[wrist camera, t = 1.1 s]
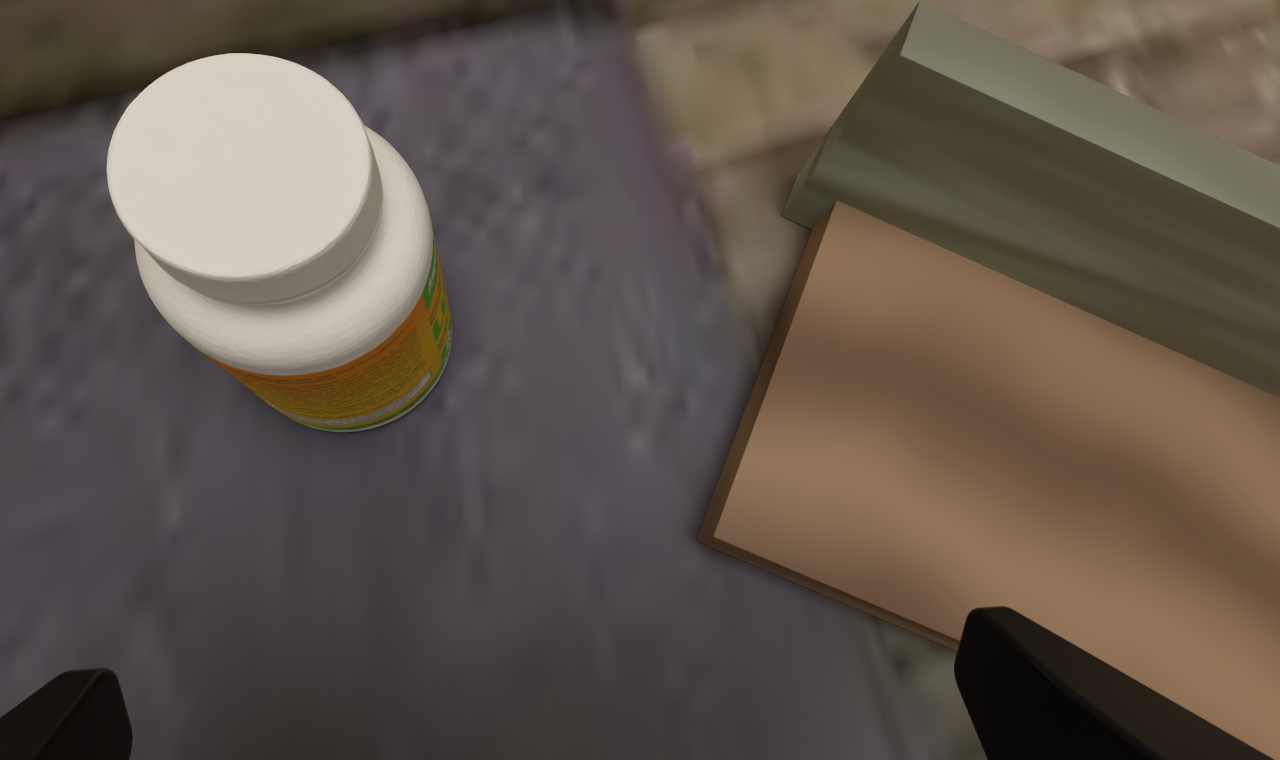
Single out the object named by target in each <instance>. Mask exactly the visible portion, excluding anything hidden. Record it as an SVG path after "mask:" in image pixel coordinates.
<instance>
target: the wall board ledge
mask: <svg viewBox="0 0 1280 760" xmlns="http://www.w3.org/2000/svg"><path fill="white" fill-rule="evenodd" d="M782 217H785V218H787V219H789V220H791V221H794V222H796V223H798V224H800V225H803V226H805V227H807V228H809V229H812V231H811V233H810V236H809V239H808V241H807V244H806V247H805V249H804V252H803V255H802V258H801V260H800V263H799V266H798V268H797V271H796V274H795V276H794V279H793V282H792V284H791V287H790V290H789V292H788V295H787V298H786V301H785V303H784V306H783V309H782V311H781V314H780V317H779V319H778V322H777V325H776V327H775V330H774V333H773V336H772V338H771V341H770V344H769V346H768V349H767V352H766V354H765V357H764V360H763V362H762V365H761V368H760V371H759V373H758V376H757V379H756V381H755V384H754V387H753V389H752V392H751V395H750V397H749V400H748V403H747V406H746V408H745V411H744V414H743V416H742V419H741V422H740V424H739V427H738V430H737V432H736V435H735V438H734V440H733V443H732V446H731V449H730V451H729V454H728V457H727V459H726V462H725V465H724V467H723V470H722V473H721V475H720V478H719V481H718V484H717V486H716V489H715V492H714V494H713V497H712V500H711V502H710V505H709V508H708V510H707V513H706V516H705V519H704V521H703V524H702V527H701V529H700V532H699V535H698V537H697V540H696V541H697V542H700V543H702V544H705V545H707V546H709V547H712V548H714V549H716V550H719V551H721V552H724V553H726V554H728V555H731V556H733V557H735V558H738V559H740V560H742V561H745V562H747V563H750V564H752V565H754V566H757V567H759V568H761V569H764V570H766V571H769V572H771V573H773V574H776V575H778V576H780V577H783V578H785V579H788V580H790V581H792V582H795V583H797V584H799V585H802V586H804V587H806V588H809V589H811V590H814V591H816V592H818V593H821V594H823V595H825V596H828V597H830V598H833V599H835V600H837V601H840V602H842V603H844V604H847V605H849V606H852V607H854V608H856V609H859V610H861V611H863V612H866V613H868V614H870V615H873V616H875V617H878V618H880V619H882V620H885V621H887V622H889V623H892V624H894V625H897V626H899V627H901V628H904V629H906V630H908V631H911V632H913V633H916V634H918V635H920V636H923V637H925V638H927V639H930V640H932V641H934V642H937V643H939V644H942V645H944V646H946V647H949V648H951V649H953V650H956V651H958V647H959V643H960V639H961V636H962V632H963V628H964V624H965V621H966V617H967V615H968V614H969V612H970V611H971V610H972V609H975V608H979V607H993V606H1006V607H1009V608H1011V609H1013V610H1015V611H1017V612H1019V613H1020V614H1022V615H1024V616H1025V617H1027V618H1029V619H1031V620H1032V621H1034V622H1036V623H1038V624H1039V625H1041V626H1043V627H1045V628H1046V629H1048V630H1050V631H1052V632H1053V633H1055V634H1057V635H1059V636H1060V637H1062V638H1064V639H1066V640H1067V641H1069V642H1071V643H1072V644H1074V645H1076V646H1078V647H1079V648H1081V649H1083V650H1085V651H1086V652H1088V653H1090V654H1092V655H1093V656H1095V657H1097V658H1099V659H1100V660H1102V661H1104V662H1106V663H1107V664H1109V665H1111V666H1113V667H1114V668H1116V669H1118V670H1119V671H1121V672H1123V673H1125V674H1126V675H1128V676H1130V677H1132V678H1133V679H1135V680H1137V681H1139V682H1140V683H1142V684H1144V685H1146V686H1147V687H1149V688H1151V689H1153V690H1154V691H1156V692H1158V693H1160V694H1161V695H1163V696H1165V697H1166V698H1168V699H1170V700H1172V701H1173V702H1175V703H1177V704H1179V705H1180V706H1182V707H1184V708H1186V709H1187V710H1189V711H1191V712H1193V713H1194V714H1196V715H1198V716H1200V717H1201V718H1203V719H1205V720H1207V721H1208V722H1210V723H1212V724H1213V725H1215V726H1217V727H1219V728H1220V729H1222V730H1224V731H1226V732H1227V733H1229V734H1231V735H1233V736H1234V737H1236V738H1238V739H1240V740H1241V741H1243V742H1245V743H1247V744H1248V745H1250V746H1252V747H1254V748H1255V749H1257V750H1259V751H1260V752H1262V753H1264V754H1266V755H1267V756H1269V757H1271V758H1273V759H1274V760H1280V166H1278V165H1276V164H1274V163H1272V162H1270V161H1268V160H1265V159H1263V158H1261V157H1259V156H1257V155H1255V154H1252V153H1250V152H1248V151H1246V150H1244V149H1241V148H1239V147H1237V146H1235V145H1233V144H1231V143H1228V142H1226V141H1224V140H1222V139H1220V138H1218V137H1215V136H1213V135H1211V134H1209V133H1207V132H1205V131H1202V130H1200V129H1198V128H1196V127H1194V126H1191V125H1189V124H1187V123H1185V122H1183V121H1181V120H1178V119H1176V118H1174V117H1172V116H1170V115H1168V114H1165V113H1163V112H1161V111H1159V110H1157V109H1155V108H1152V107H1150V106H1148V105H1146V104H1144V103H1141V102H1139V101H1137V100H1135V99H1133V98H1131V97H1128V96H1126V95H1124V94H1122V93H1120V92H1118V91H1115V90H1113V89H1111V88H1109V87H1107V86H1105V85H1102V84H1100V83H1098V82H1096V81H1094V80H1092V79H1089V78H1087V77H1085V76H1083V75H1081V74H1078V73H1076V72H1074V71H1072V70H1070V69H1068V68H1065V67H1063V66H1061V65H1059V64H1057V63H1055V62H1052V61H1050V60H1048V59H1046V58H1044V57H1042V56H1039V55H1037V54H1035V53H1033V52H1031V51H1028V50H1026V49H1024V48H1022V47H1020V46H1018V45H1015V44H1013V43H1011V42H1009V41H1007V40H1005V39H1002V38H1000V37H998V36H996V35H994V34H992V33H989V32H987V31H985V30H983V29H981V28H978V27H976V26H974V25H972V24H970V23H968V22H965V21H963V20H961V19H959V18H957V17H955V16H952V15H950V14H948V13H946V12H944V11H942V10H939V9H937V8H935V7H933V6H931V5H928V4H926V3H924V2H922V1H919V3H918V4H917V6H916V7H915V8H914V10H913V11H912V13H911V14H910V16H909V17H908V18H907V20H906V21H905V23H904V24H903V26H902V27H901V28H900V30H899V31H898V33H897V34H896V35H895V37H894V38H893V40H892V41H891V43H890V44H889V45H888V47H887V48H886V50H885V51H884V53H883V54H882V55H881V57H880V58H879V60H878V61H877V63H876V64H875V65H874V67H873V68H872V70H871V71H870V73H869V74H868V75H867V77H866V78H865V80H864V81H863V83H862V84H861V85H860V87H859V88H858V90H857V91H856V93H855V94H854V95H853V97H852V98H851V100H850V101H849V103H848V104H847V105H846V107H845V108H844V110H843V111H842V113H841V114H840V115H839V117H838V118H837V120H836V121H835V123H834V124H833V125H832V127H831V128H830V130H829V131H828V133H827V134H826V135H825V137H824V138H823V140H822V141H821V143H820V144H819V145H818V147H817V148H816V150H815V151H814V153H813V154H812V155H811V157H810V158H809V160H808V161H807V163H806V164H805V165H804V167H803V168H802V170H801V171H800V173H799V174H798V175H797V178H796V181H795V183H794V186H793V188H792V191H791V194H790V196H789V199H788V201H787V204H786V207H785V209H784V212H783V214H782Z"/></svg>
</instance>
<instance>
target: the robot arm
mask: <svg viewBox="0 0 1280 760" xmlns="http://www.w3.org/2000/svg"><path fill="white" fill-rule="evenodd" d="M954 673H955V679H956V683H957V686H958V689H959V691H960V693H961V696H962V698H963V701H964V703H965V706H966V708H967V711H968V713H969V716H970V718H971V720H972V723H973V725H974V728H975V730H976V733H977V735H978V738H979V740H980V742H981V745H982V747H983V750H984V752H985V755H986V757H987V760H1274V759H1273V758H1271V757H1269V756H1267V755H1266V754H1264V753H1262V752H1260V751H1259V750H1257V749H1255V748H1254V747H1252V746H1250V745H1248V744H1247V743H1245V742H1243V741H1241V740H1240V739H1238V738H1236V737H1234V736H1233V735H1231V734H1229V733H1227V732H1226V731H1224V730H1222V729H1220V728H1219V727H1217V726H1215V725H1213V724H1212V723H1210V722H1208V721H1207V720H1205V719H1203V718H1201V717H1200V716H1198V715H1196V714H1194V713H1193V712H1191V711H1189V710H1187V709H1186V708H1184V707H1182V706H1180V705H1179V704H1177V703H1175V702H1173V701H1172V700H1170V699H1168V698H1166V697H1165V696H1163V695H1161V694H1160V693H1158V692H1156V691H1154V690H1153V689H1151V688H1149V687H1147V686H1146V685H1144V684H1142V683H1140V682H1139V681H1137V680H1135V679H1133V678H1132V677H1130V676H1128V675H1126V674H1125V673H1123V672H1121V671H1119V670H1118V669H1116V668H1114V667H1113V666H1111V665H1109V664H1107V663H1106V662H1104V661H1102V660H1100V659H1099V658H1097V657H1095V656H1093V655H1092V654H1090V653H1088V652H1086V651H1085V650H1083V649H1081V648H1079V647H1078V646H1076V645H1074V644H1072V643H1071V642H1069V641H1067V640H1066V639H1064V638H1062V637H1060V636H1059V635H1057V634H1055V633H1053V632H1052V631H1050V630H1048V629H1046V628H1045V627H1043V626H1041V625H1039V624H1038V623H1036V622H1034V621H1032V620H1031V619H1029V618H1027V617H1025V616H1024V615H1022V614H1020V613H1019V612H1017V611H1015V610H1013V609H1011V608H1009V607H1006V606H993V607H979V608H975V609H972V610H971V611H970V612H969V614H968V615H967V617H966V621H965V624H964V628H963V632H962V636H961V639H960V643H959V647H958V651H957V655H956V658H955V664H954ZM131 748H132V728H131V724H130V720H129V717H128V713H127V709H126V706H125V702H124V699H123V695H122V691H121V688H120V684H119V681H118V678H117V676H116V674H115V673H114V672H113V671H112V670H110V669H106V668H99V669H84V670H71V671H67V672H64V673H62V674H60V675H58V676H57V677H55V678H54V679H53V680H51V681H50V682H48V683H47V684H46V685H44V686H43V687H42V688H40V689H39V690H38V691H36V692H35V693H33V694H32V695H31V696H29V697H28V698H27V699H25V700H24V701H23V702H21V703H20V704H19V705H17V706H16V707H14V708H13V709H12V710H10V711H9V712H8V713H6V714H5V715H4V716H2V717H1V718H0V760H129V758H130V754H131Z"/></svg>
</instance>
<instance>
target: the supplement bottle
mask: <svg viewBox="0 0 1280 760" xmlns="http://www.w3.org/2000/svg"><path fill="white" fill-rule="evenodd" d="M107 177H108V187H109V191H110V195H111V199H112V202H113V205H114V207H115V210H116V212H117V214H118V216H119V218H120V220H121V221H122V223H123V225H124V226H125V228H126V229H127V231H128V232H129V233H130V235H131V236H132V237H133V238H134V242H135V252H136V259H137V264H138V268H139V272H140V275H141V278H142V281H143V284H144V286H145V288H146V290H147V292H148V294H149V296H150V298H151V300H152V301H153V303H154V305H155V306H156V308H157V309H158V310H159V312H160V313H161V315H162V316H163V317H164V318H165V319H166V320H167V322H168V323H169V324H170V325H171V326H172V327H173V328H174V329H175V330H176V331H177V332H178V333H179V334H180V335H181V336H182V337H183V338H185V339H186V340H187V341H188V342H189V343H190V344H191V345H193V346H194V347H195V348H196V349H198V350H199V351H200V352H202V353H203V354H204V355H205V356H207V357H208V358H209V359H211V360H212V361H214V362H215V363H216V364H218V365H219V366H220V367H222V368H223V369H224V370H225V371H227V372H228V373H229V374H231V375H232V376H233V377H235V378H236V379H237V380H238V381H240V382H241V383H242V384H244V385H245V386H246V387H248V388H249V389H250V390H251V391H253V392H254V393H255V394H257V395H258V396H259V397H260V398H262V399H263V400H264V401H265V402H267V403H268V404H269V405H270V406H272V407H273V408H274V409H276V410H277V411H279V412H281V413H282V414H284V415H285V416H287V417H289V418H291V419H292V420H294V421H296V422H299V423H301V424H303V425H306V426H308V427H312V428H315V429H320V430H325V431H332V432H354V431H362V430H367V429H372V428H375V427H379V426H382V425H384V424H387V423H390V422H392V421H394V420H396V419H398V418H400V417H401V416H403V415H405V414H406V413H408V412H409V411H410V410H412V409H413V408H414V407H416V406H417V405H418V404H419V403H420V402H421V401H422V400H423V399H424V398H425V397H426V396H427V395H428V394H429V393H430V392H431V390H432V389H433V388H434V386H435V385H436V384H437V382H438V380H439V379H440V377H441V375H442V373H443V371H444V369H445V367H446V364H447V361H448V358H449V354H450V350H451V344H452V318H451V311H450V306H449V301H448V297H447V293H446V288H445V284H444V279H443V275H442V270H441V266H440V261H439V256H438V251H437V246H436V242H435V237H434V232H433V227H432V222H431V218H430V213H429V209H428V206H427V204H426V201H425V198H424V195H423V192H422V190H421V187H420V185H419V183H418V181H417V179H416V177H415V175H414V174H413V172H412V170H411V169H410V167H409V166H408V164H407V163H406V162H405V160H404V159H403V158H402V157H401V156H400V154H399V153H398V152H397V151H396V150H395V149H394V148H393V147H392V146H391V145H390V144H389V143H388V142H387V141H386V140H384V139H383V138H382V137H381V136H379V135H378V134H377V133H376V132H374V131H372V130H371V129H369V128H368V127H366V126H365V125H363V123H362V121H361V119H360V117H359V116H358V114H357V112H356V111H355V109H354V108H353V106H352V105H351V103H350V102H349V101H348V100H347V99H346V97H345V96H344V95H343V94H342V93H341V92H340V91H339V90H338V89H337V88H335V87H334V86H333V85H332V84H331V83H329V82H328V81H327V80H326V79H324V78H323V77H321V76H320V75H318V74H316V73H315V72H313V71H311V70H309V69H307V68H305V67H303V66H301V65H298V64H296V63H294V62H291V61H287V60H284V59H280V58H277V57H272V56H266V55H258V54H244V53H234V54H224V55H215V56H211V57H207V58H202V59H199V60H196V61H192V62H189V63H187V64H184V65H182V66H180V67H177V68H175V69H174V70H172V71H170V72H168V73H166V74H165V75H163V76H161V77H160V78H158V79H157V80H156V81H154V82H153V83H152V84H150V85H149V86H148V87H147V88H145V89H144V90H143V91H142V92H141V93H140V94H139V95H138V96H137V98H136V99H135V100H134V101H133V102H132V103H131V104H130V105H129V106H128V108H127V109H126V111H125V112H124V114H123V115H122V117H121V119H120V121H119V123H118V124H117V126H116V129H115V131H114V133H113V136H112V139H111V143H110V147H109V151H108V159H107Z"/></svg>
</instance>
